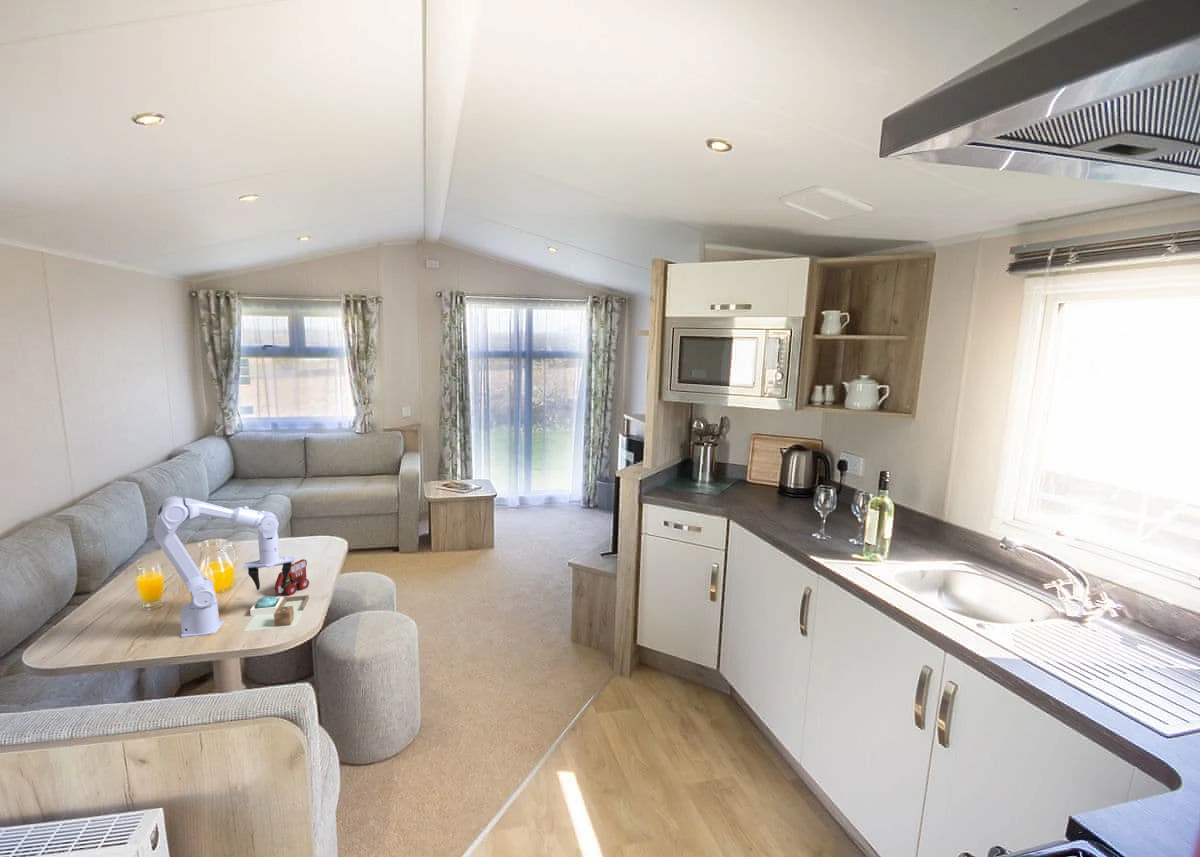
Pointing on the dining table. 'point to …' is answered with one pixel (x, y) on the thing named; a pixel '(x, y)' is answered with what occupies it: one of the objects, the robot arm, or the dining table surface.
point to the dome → (266, 602)
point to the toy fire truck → (293, 579)
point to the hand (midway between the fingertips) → (271, 586)
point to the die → (283, 616)
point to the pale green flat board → (265, 616)
